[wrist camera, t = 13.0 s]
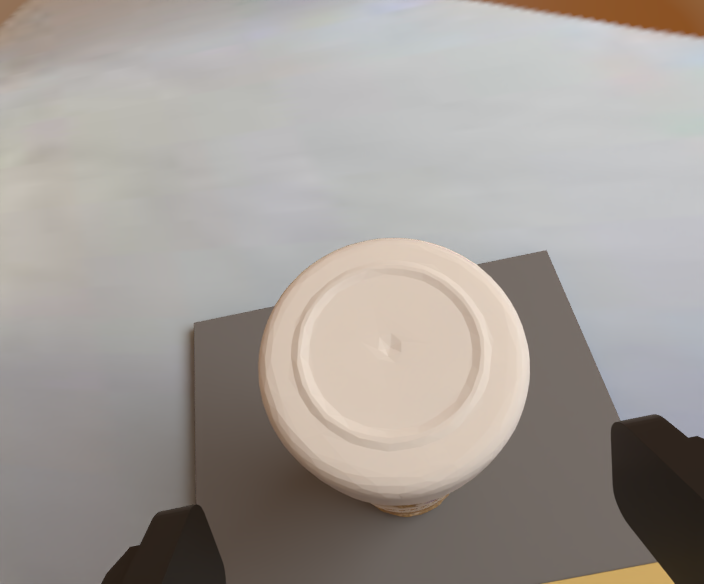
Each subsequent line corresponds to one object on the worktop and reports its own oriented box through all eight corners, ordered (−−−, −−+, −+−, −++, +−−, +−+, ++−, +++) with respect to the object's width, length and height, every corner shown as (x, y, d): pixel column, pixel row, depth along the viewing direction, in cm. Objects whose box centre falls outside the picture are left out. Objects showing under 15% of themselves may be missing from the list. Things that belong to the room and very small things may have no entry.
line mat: (205, 732, 17) (196, 740, 16) (199, 327, 24) (193, 322, 23) (708, 641, 16) (720, 646, 15) (543, 256, 23) (546, 249, 23)
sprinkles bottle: (423, 542, 18) (442, 577, 6) (328, 471, 19) (193, 388, 8) (479, 439, 19) (585, 302, 7) (387, 381, 21) (351, 191, 9)
